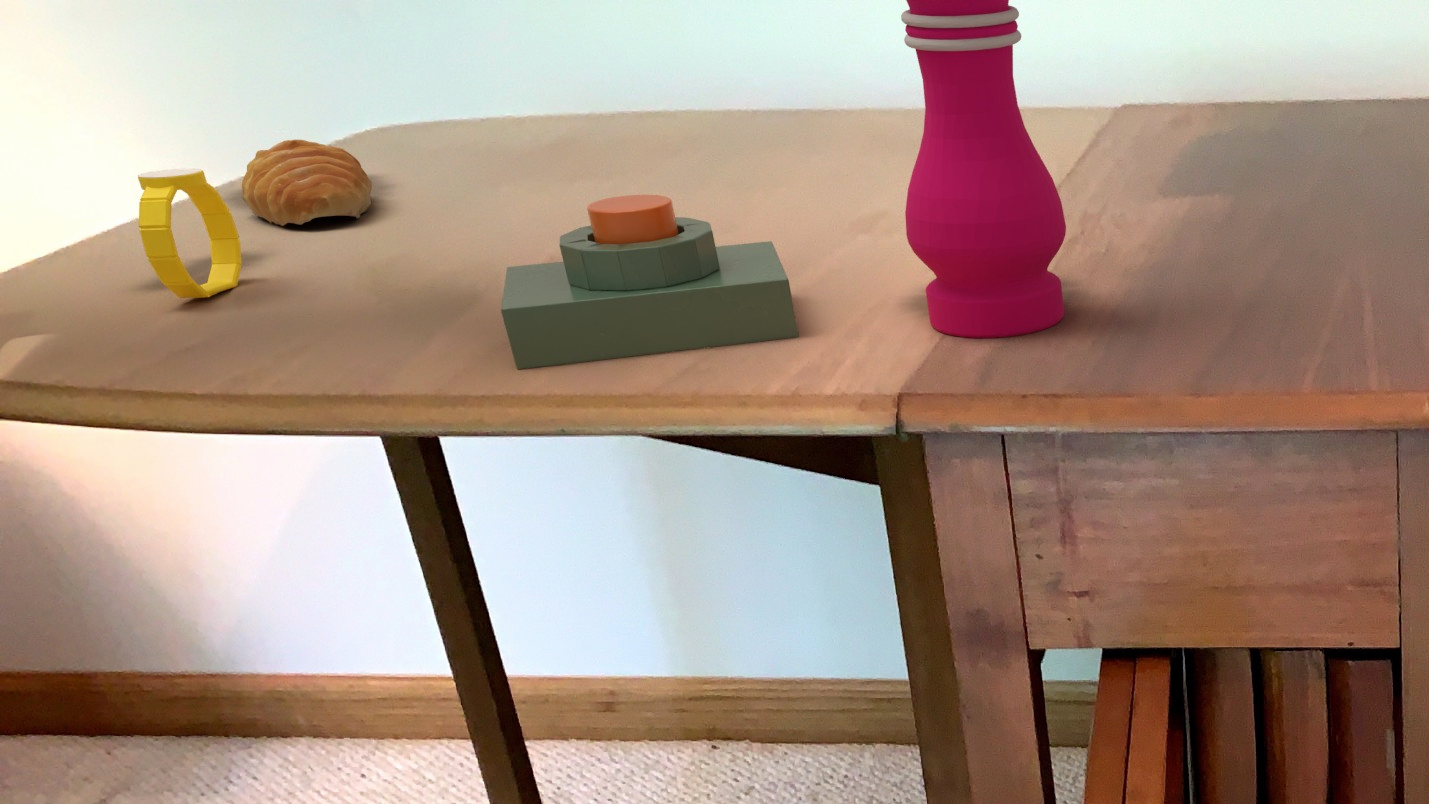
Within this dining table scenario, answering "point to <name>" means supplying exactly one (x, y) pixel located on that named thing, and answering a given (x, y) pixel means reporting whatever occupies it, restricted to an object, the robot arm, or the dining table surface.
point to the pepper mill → (979, 178)
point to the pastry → (305, 183)
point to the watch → (161, 240)
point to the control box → (645, 298)
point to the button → (632, 219)
